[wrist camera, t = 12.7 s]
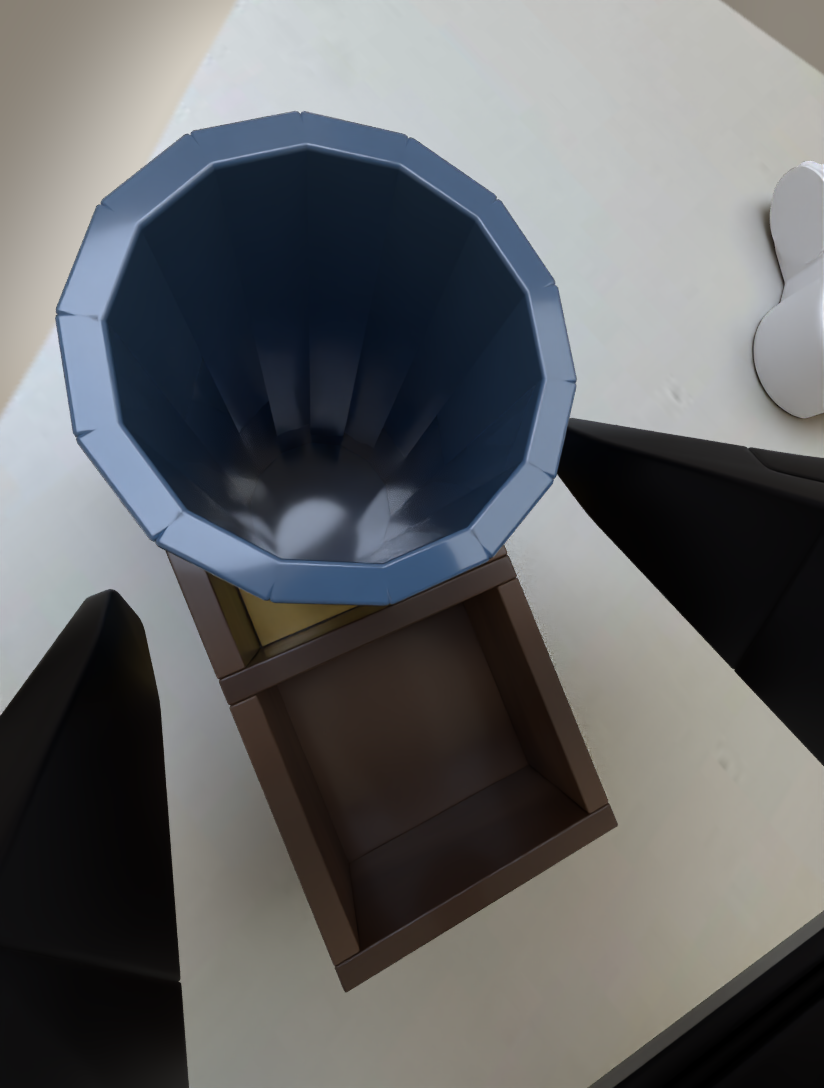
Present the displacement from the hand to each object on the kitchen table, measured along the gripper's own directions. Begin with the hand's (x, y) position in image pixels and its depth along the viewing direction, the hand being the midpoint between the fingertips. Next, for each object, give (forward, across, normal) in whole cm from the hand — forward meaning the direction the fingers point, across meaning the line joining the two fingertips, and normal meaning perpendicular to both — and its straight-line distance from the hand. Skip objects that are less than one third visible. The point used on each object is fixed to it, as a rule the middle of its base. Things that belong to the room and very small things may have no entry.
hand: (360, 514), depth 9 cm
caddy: (+5, 0, +9) cm, 10 cm away
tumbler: (+8, 0, +5) cm, 9 cm away
